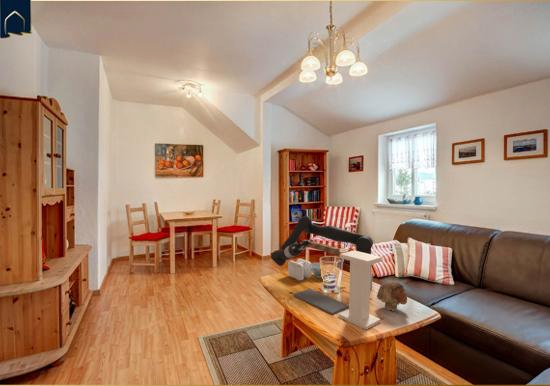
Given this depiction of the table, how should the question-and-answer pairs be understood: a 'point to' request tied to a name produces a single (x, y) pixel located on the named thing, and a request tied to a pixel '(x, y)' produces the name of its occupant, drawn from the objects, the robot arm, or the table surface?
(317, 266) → the chinaware
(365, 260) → the stand
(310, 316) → the table surface
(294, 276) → the cable organizer
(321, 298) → the rubber mat
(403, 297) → the sculpture
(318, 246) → the walnut bar
